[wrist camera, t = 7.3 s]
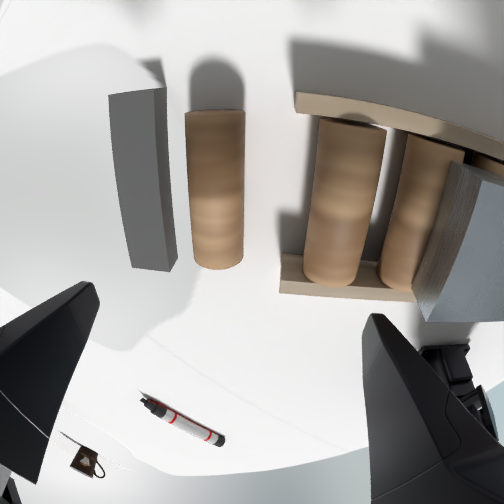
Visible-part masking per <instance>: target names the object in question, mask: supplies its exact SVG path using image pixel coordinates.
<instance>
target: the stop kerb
mask: <svg viewBox="0 0 504 504" xmlns="http://www.w3.org/2000/svg"><path fill="white" fill-rule="evenodd" d="M108 97H109V116H110V129H111V140H112V151H113V160H114V168H115V176H116V183H117V190H118V197H119V203H120V208H121V215H122V221H123V226H124V231H125V237H126V241H127V246H128V251H129V256H130V260H131V265H132V267H133V268H140V269H148V270H157V271H166V272H170V271H171V269H172V267H173V266H174V264H175V262H176V260H177V258H178V254H177V246H176V237H175V228H174V218H173V208H172V196H171V183H170V169H169V152H168V131H167V91H166V88H156V89H147V90H139V91H131V92H124V93H117V94H112V95H108Z"/></svg>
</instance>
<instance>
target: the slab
mask: <svg viewBox="0 0 504 504" xmlns="http://www.w3.org/2000/svg"><path fill="white" fill-rule="evenodd" d="M411 289H412V291H413V293H414V296H415V298H416V300H417V302H418V305H419V307H420V309H421V312H422V314H423V317H424V319H425V322H426V323H455V322H493V321H504V176H501V175H498V174H496V173H493V172H490V171H487V170H484V169H481V168H477V167H474V166H471V165H468V164H464V163H461V162H457V161H454V160H451V162H450V167H449V171H448V175H447V180H446V184H445V188H444V191H443V195H442V199H441V202H440V206H439V209H438V213H437V216H436V219H435V223H434V226H433V229H432V232H431V235H430V238H429V241H428V244H427V247H426V250H425V253H424V255H423V258H422V261H421V263H420V266H419V269H418V271H417V274H416V276H415V279H414V281H413V284H412V286H411Z"/></svg>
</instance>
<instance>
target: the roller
mask: <svg viewBox="0 0 504 504" xmlns="http://www.w3.org/2000/svg"><path fill="white" fill-rule="evenodd" d="M185 136H186V158H187V175H188V192H189V204H190V205H189V206H190V218H191V231H192V242H193V252H194V259H195V261H196V263H197V264H199V265H200V266H202V267H204V268H208V269H214V270H221V269H227V268H231V267H233V266H235V265H237V264H238V263H240V262H241V260H242V259H243V237H244V158H245V111H242V110H199V111H192V112H187V113H185Z"/></svg>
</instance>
